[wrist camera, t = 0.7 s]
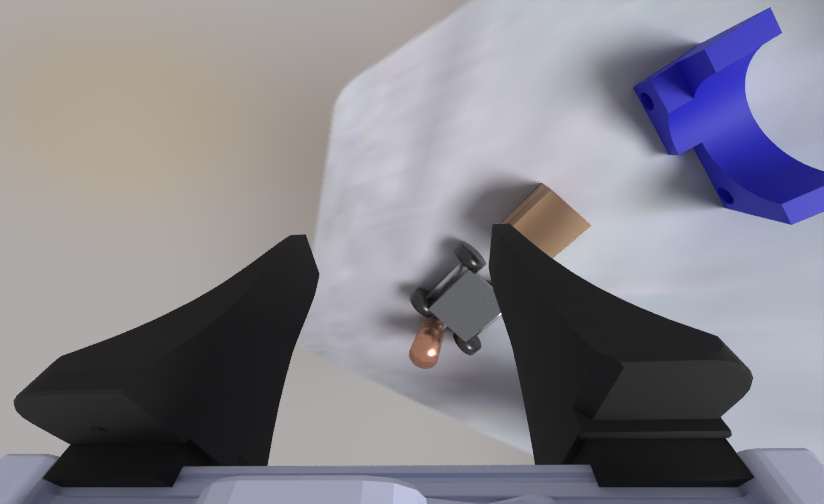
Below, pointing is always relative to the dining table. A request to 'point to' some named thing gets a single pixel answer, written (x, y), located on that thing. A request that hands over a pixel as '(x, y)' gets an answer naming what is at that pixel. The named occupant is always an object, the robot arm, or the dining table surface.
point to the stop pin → (427, 343)
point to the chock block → (547, 221)
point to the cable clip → (730, 126)
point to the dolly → (462, 301)
